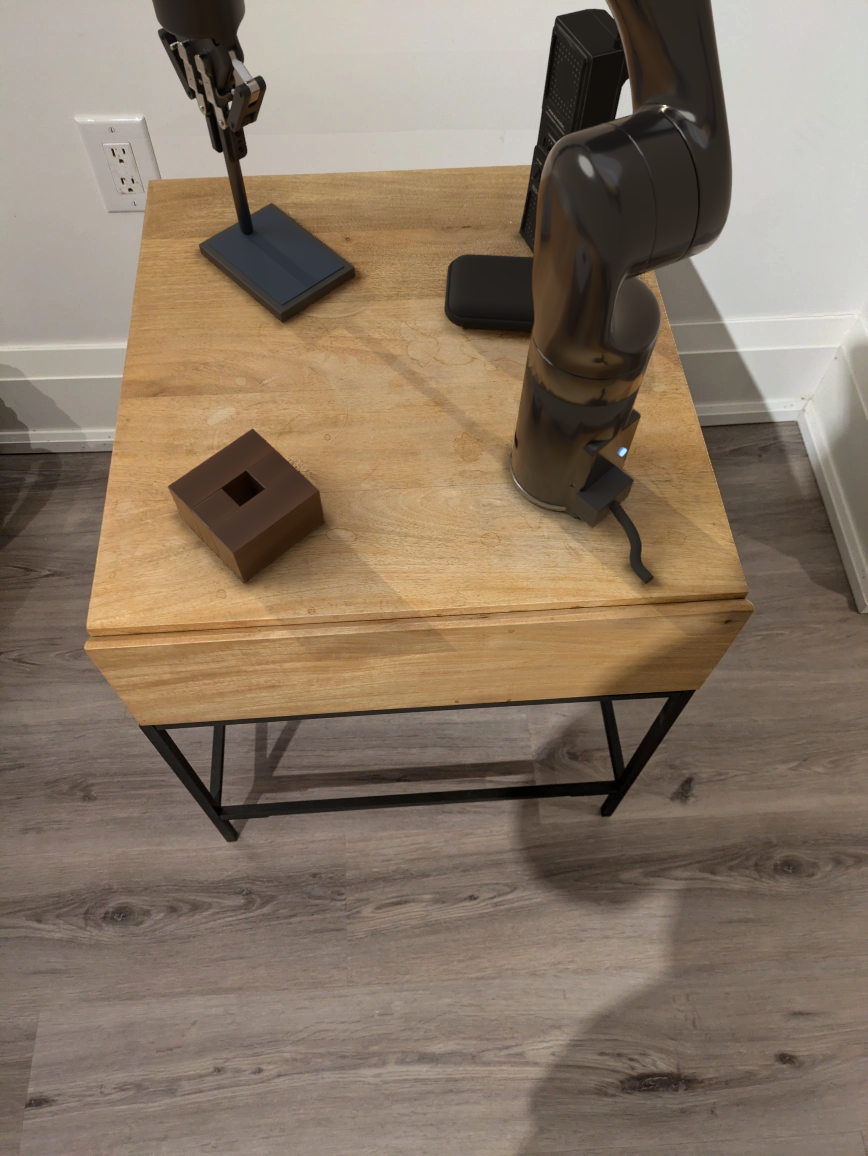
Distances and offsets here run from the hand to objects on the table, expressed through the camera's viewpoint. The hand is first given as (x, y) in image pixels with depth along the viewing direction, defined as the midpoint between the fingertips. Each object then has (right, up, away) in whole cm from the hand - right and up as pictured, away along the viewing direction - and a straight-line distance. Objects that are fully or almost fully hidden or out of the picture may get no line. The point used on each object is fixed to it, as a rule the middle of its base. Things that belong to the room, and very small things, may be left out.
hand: (230, 152), depth 83 cm
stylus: (0, -4, +8) cm, 9 cm away
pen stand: (+4, -37, -8) cm, 38 cm away
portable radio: (+33, -5, +10) cm, 35 cm away
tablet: (+3, -8, +7) cm, 12 cm away
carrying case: (+29, -14, +5) cm, 32 cm away
